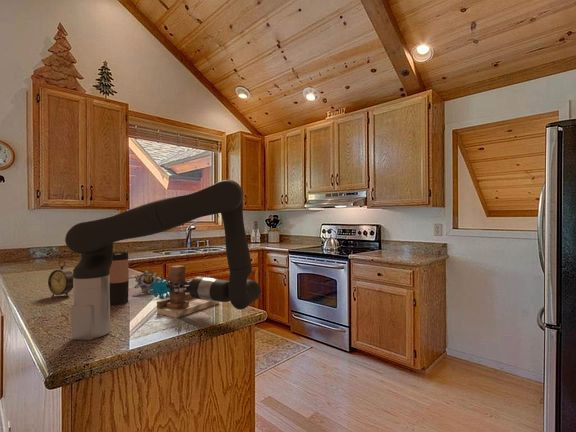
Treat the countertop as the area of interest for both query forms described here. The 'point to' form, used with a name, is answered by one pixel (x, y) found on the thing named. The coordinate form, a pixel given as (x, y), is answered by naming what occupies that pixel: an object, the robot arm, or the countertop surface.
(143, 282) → the passion flower
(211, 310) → the countertop surface
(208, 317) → the countertop surface
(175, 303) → the panel
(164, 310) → the board
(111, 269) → the travel mug
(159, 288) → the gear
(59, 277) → the alarm clock
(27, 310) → the countertop surface
